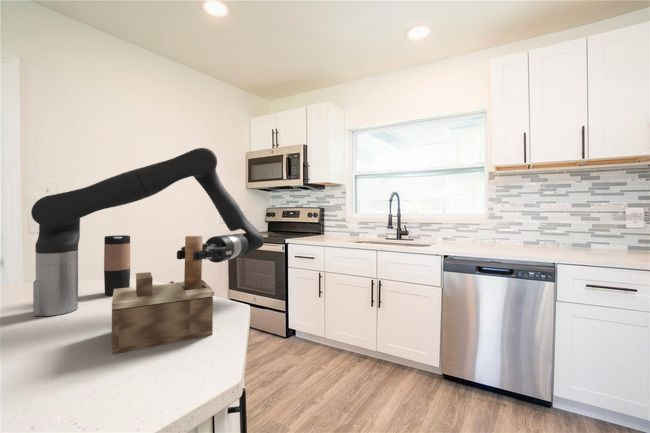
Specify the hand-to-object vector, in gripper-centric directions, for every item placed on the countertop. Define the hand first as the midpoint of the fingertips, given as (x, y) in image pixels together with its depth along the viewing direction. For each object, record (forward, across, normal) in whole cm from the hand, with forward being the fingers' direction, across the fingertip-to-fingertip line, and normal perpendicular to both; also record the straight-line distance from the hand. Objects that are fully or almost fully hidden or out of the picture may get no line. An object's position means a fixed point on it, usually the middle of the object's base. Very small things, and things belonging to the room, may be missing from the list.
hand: (186, 255), depth 75 cm
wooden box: (+2, -5, +19) cm, 19 cm away
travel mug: (-23, -44, +19) cm, 54 cm away
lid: (+2, -5, +10) cm, 11 cm away
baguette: (-3, 0, +8) cm, 8 cm away
